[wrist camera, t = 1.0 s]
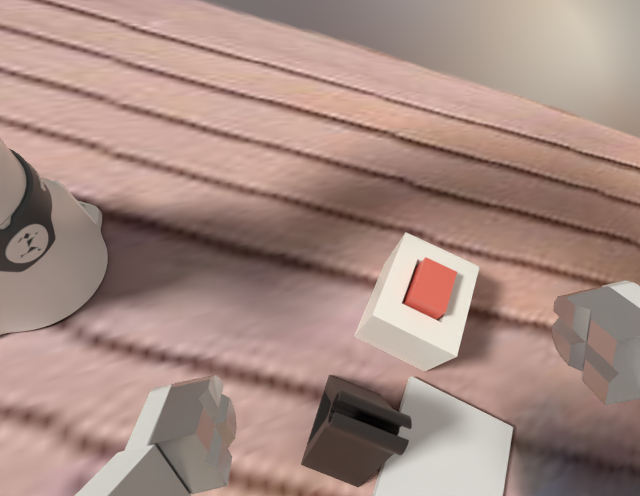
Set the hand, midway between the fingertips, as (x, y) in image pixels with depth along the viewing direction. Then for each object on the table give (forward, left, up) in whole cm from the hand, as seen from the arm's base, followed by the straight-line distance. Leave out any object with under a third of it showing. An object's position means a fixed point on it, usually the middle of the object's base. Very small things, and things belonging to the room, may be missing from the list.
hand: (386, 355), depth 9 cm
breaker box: (+7, +17, -33) cm, 38 cm away
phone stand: (+5, +2, -33) cm, 34 cm away
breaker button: (+7, +17, -27) cm, 33 cm away
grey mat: (+16, +3, -33) cm, 37 cm away
